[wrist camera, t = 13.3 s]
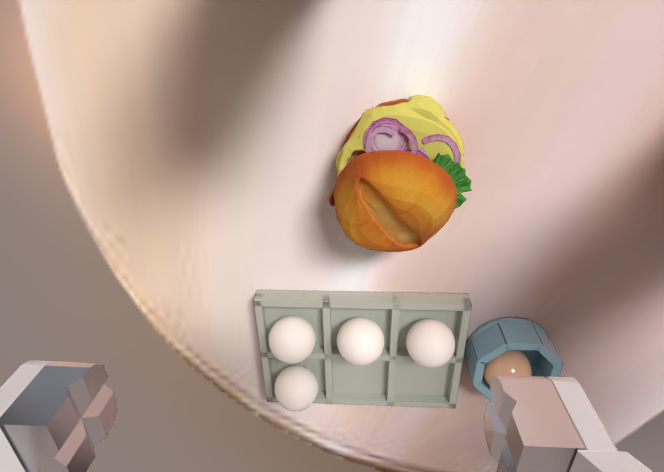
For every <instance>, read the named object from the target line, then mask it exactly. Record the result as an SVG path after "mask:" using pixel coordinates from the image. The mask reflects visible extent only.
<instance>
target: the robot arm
mask: <svg viewBox="0 0 664 472" xmlns="http://www.w3.org/2000/svg"><path fill="white" fill-rule="evenodd" d="M107 378H108V375H107V372H106V370H105V367H104V365H100V364H96V363H77V362H59V361H36V360H31V361H29V362H26V363H24V364H22V365H21V366H20V367H19V368H18V370H17V371H16V372H15V373H14V374H13V375H12V376H11V377H10V378H9V379H8V380H7V381H6V382H5V384H4V385H3V386H2V387H1V388H0V472H86V471H87V470H88V468H89V466H90V464H91V463H92V461H93V460H94V458H95V452H94V446H95V445H96V444H98V443H99V442H101V441H102V440H103V439H105V438H106V437H107V435H108V434H109V432H110V430H111V428H112V426H113V424H114V421H115V417H116V413H117V399H116V396H115V393H114V391H112V390H111V389H110V388H109V387H108V386H106V385H105V384H104V383H105V381H106V379H107ZM490 391H491V394H492V397H493V400H492V401H491V402H489V403H488V404H487V405H486V411H485V434H486V440H487V444H488V448H489V452H490V454H491V455H492V456H493V457H494V458H495V459H496V460H497V461H498V462H499V464H498V468H497V472H653V471H651V470H650V469H649V468H647V467H646V466H645V465H643V464H642V463H641V462H639V461H638V460H637V459H636V458H634V457H633V456H632V455H630V454H629V453H628V452H621V451H618V450H617V448H616V446H615V445H614V443H613V441H612V439H611V438H610V436H609V434H608V432H607V431H606V429H605V427H604V425H603V424H602V422H601V420H600V418H599V417H598V415H597V413H596V411H595V410H594V408H593V406H592V404H591V403H590V401H589V399H588V397H587V396H586V394H585V392H584V390H583V389H582V387H581V385H580V383H579V382H578V381H577V380H576V379H575V378H574V377H544V376H496V375H495V376H494V378H493V379H492V382H491V387H490Z"/></svg>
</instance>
